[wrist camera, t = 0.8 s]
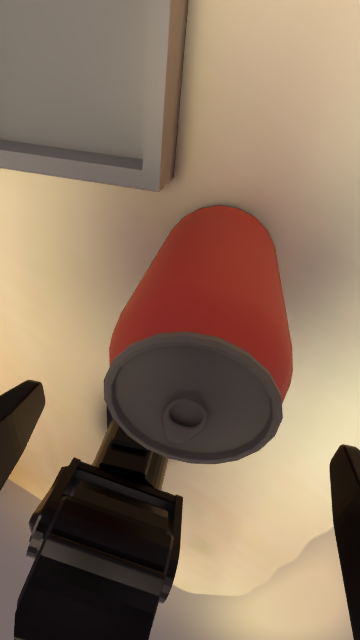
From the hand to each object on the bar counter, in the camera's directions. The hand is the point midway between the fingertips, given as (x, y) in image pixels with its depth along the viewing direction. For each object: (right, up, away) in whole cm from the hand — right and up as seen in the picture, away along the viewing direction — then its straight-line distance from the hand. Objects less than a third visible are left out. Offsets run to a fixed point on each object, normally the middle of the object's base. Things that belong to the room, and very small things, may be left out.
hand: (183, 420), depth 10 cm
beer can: (+2, +7, +10) cm, 13 cm away
